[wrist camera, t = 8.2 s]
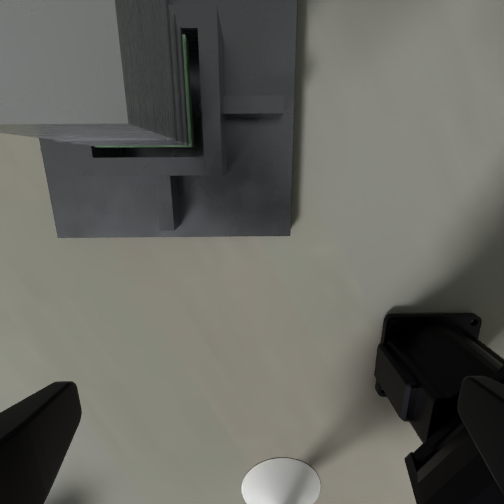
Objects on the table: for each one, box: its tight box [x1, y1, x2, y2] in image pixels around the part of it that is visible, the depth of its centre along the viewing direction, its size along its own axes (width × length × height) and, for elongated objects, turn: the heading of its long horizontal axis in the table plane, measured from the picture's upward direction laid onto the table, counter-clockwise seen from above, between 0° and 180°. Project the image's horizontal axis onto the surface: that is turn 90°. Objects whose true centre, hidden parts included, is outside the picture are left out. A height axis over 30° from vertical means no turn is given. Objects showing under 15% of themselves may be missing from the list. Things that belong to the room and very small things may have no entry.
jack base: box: [39, 0, 297, 238], centre depth 15 cm, size 14×14×4 cm
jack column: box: [0, 0, 194, 148], centre depth 10 cm, size 4×4×8 cm
